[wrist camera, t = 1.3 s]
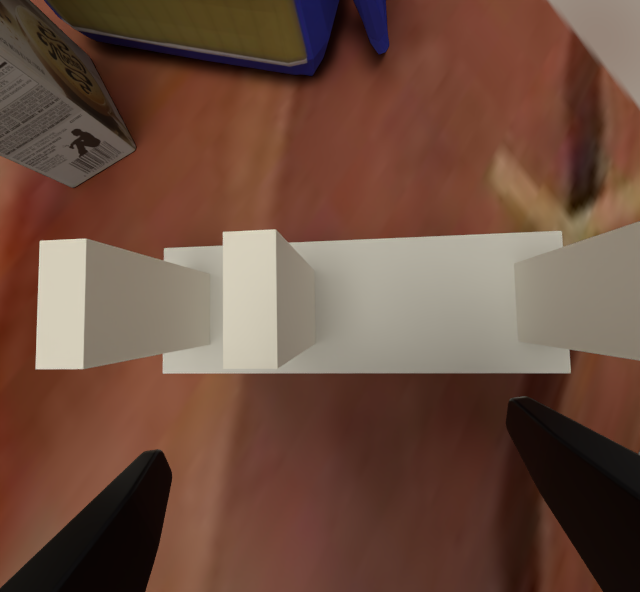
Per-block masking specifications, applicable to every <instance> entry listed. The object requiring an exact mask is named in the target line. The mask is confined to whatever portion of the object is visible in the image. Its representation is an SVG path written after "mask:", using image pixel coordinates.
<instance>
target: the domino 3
mask: <svg viewBox="0 0 640 592" xmlns="http://www.w3.org/2000/svg"><path fill="white" fill-rule="evenodd" d="M514 274H515V292H516V310H517V328H518V341H519V342H525V343H532V344H538V345H544V346H551V347H557V348H563V349H570V350H576V351H583V352H589V353H595V354H602V355H608V356H614V357H621V358H627V359H633V360H640V221H639V222H636V223H633V224H630V225H627V226H624V227H621V228H618V229H615V230H612V231H609V232H606V233H603V234H600V235H597V236H594V237H591V238H588V239H585V240H582V241H580V242H577V243H574V244H571V245H568V246H565V247H562V248H559V249H556V250H553V251H550V252H547V253H544V254H541V255H538V256H535V257H532V258H529V259H526V260H523V261H520V262H517V263H514Z"/></svg>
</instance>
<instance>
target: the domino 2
mask: <svg viewBox="0 0 640 592" xmlns="http://www.w3.org/2000/svg"><path fill="white" fill-rule="evenodd" d="M314 344H316V332H315V277H314V269H313V268H312V267H311V266H310V265H309V264H308V263H307V262H306V261H305V260H304V259H303V258H302V257H301V256H300V255H299V254H298V252H297V251H296V250H295V249H294V248H293V247H292V246H291V245H290V244H289V243H288V242H287V241H286V240H285V239H284V238H283V236H282V235H281V234H280V233H279V232H278V231H277V230H276V229H275V230H254V231H234V232H223V369H278V368H279V367H281V366H282V365H284V364H285V363H287V362H288V361H290V360H291V359H293V358H294V357H296V356H297V355H299V354H301V353H302V352H304V351H305V350H307V349H308V348H310V347H311V346H313V345H314Z"/></svg>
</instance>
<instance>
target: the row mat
mask: <svg viewBox="0 0 640 592" xmlns="http://www.w3.org/2000/svg"><path fill="white" fill-rule="evenodd" d="M289 244H290V245H291V246H292V247H293V248H294V249H295V250H296V251H297V252H298V254H299V255H300V256H301V257H302V258H303V259H304V260H305V261H306V262H307V263H308V264H309V265H310V266H311V267H312V268H313V269H314V277H315V332H316V344H314V345H313V346H311V347H310V348H308V349H307V350H305V351H304V352H302V353H301V354H299V355H297V356H296V357H294V358H293V359H291V360H290V361H288V362H287V363H285V364H284V365H282V366H281V367H279V368H278V369H223V246H204V247H182V248H164V261H166V262H170V263H173V264H177V265H180V266H184V267H187V268H191V269H194V270H198V271H201V272H205V273H208V274H210V345H205V346H200V347H195V348H190V349H185V350H179V351H174V352H169V353H164V354H163V373H571V367H570V351H569V349H563V348H557V347H551V346H544V345H538V344H532V343H525V342H519V341H518V328H517V310H516V292H515V274H514V263H517V262H520V261H523V260H526V259H529V258H532V257H535V256H538V255H541V254H544V253H547V252H550V251H553V250H556V249H559V248H562V247H563V243H562V231H547V232H524V233H501V234H478V235H456V236H433V237H410V238H387V239H364V240H341V241H319V242H296V243H289Z"/></svg>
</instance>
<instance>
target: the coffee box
mask: <svg viewBox="0 0 640 592" xmlns="http://www.w3.org/2000/svg"><path fill="white" fill-rule="evenodd" d="M135 149H136V146H135V144H134V142H133V140H132V138H131V136H130V134H129V132H128V130H127V128H126V126H125V124H124V122H123V120H122V118H121V116H120V115H119V113H118V111H117V109H116V107H115V105H114V103H113V101H112V99H111V97H110V95H109V93H108V92H107V90H106V88H105V86H104V84H103V82H102V80H101V78H100V76H99V74H98V72H97V70H96V68H95V66H94V64H93V63H92V61H91V59H90V57H89V56H88V55H87V54H86V53H85V52H84V51H83V50H82V49H81V48H80V47H78V46H77V45H76V44H75V43H74V42H73V41H72V40H71V39H70V38H69V37H68V36H67V35H66V34H65V33H64V32H63V31H62V30H61V29H59V28H58V27H57V26H56V25H55V24H54V23H53V22H52V21H51V20H50V19H49V18H48V17H47V16H46V15H45V14H44V13H43V12H42V11H41V10H40V9H39V8H38V7H37V6H35V5H34V4H33V3H32V2H31V1H30V0H0V156H2V157H5V158H7V159H9V160H11V161H14V162H16V163H18V164H20V165H23V166H25V167H27V168H29V169H32V170H34V171H36V172H38V173H41V174H43V175H45V176H47V177H50V178H52V179H54V180H56V181H58V182H61V183H63V184H65V185H67V186H70V187H72V188H73V187H76V186H78V185H79V184H81V183H82V182H84V181H86V180H87V179H89V178H91V177H92V176H94V175H96V174H97V173H99V172H101V171H102V170H104V169H106V168H107V167H109V166H110V165H112V164H114V163H115V162H117V161H119V160H120V159H122V158H124V157H125V156H127V155H128V154H130V153H132V152H133V151H135Z"/></svg>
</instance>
